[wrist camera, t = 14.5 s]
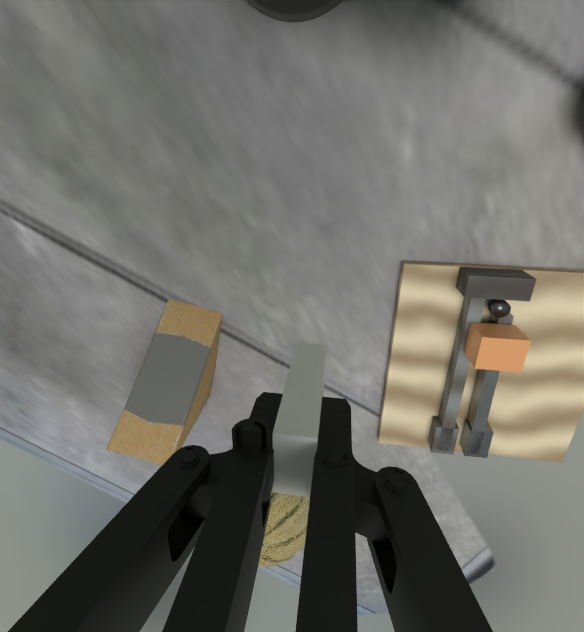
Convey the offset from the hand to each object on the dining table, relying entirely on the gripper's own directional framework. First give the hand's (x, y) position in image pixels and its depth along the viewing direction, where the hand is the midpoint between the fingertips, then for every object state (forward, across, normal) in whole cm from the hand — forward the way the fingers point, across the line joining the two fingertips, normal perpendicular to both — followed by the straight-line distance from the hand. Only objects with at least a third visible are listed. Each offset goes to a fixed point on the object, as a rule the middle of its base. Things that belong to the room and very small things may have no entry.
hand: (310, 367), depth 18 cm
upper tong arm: (+29, +21, -17) cm, 40 cm away
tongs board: (+30, +22, -16) cm, 41 cm away
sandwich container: (+31, -20, -18) cm, 41 cm away
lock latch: (+26, +20, -10) cm, 34 cm away
